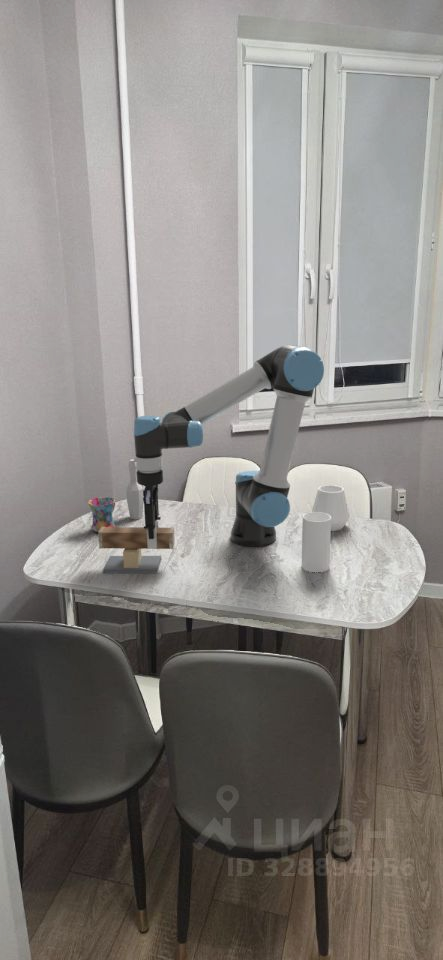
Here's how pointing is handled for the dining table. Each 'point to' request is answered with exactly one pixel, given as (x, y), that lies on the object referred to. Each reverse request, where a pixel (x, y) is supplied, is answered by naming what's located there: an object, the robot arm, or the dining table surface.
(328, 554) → the cup
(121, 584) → the dining table surface
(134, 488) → the low poly bottle
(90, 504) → the mug
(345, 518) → the white tapered vase
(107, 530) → the beam
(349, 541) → the dining table surface
